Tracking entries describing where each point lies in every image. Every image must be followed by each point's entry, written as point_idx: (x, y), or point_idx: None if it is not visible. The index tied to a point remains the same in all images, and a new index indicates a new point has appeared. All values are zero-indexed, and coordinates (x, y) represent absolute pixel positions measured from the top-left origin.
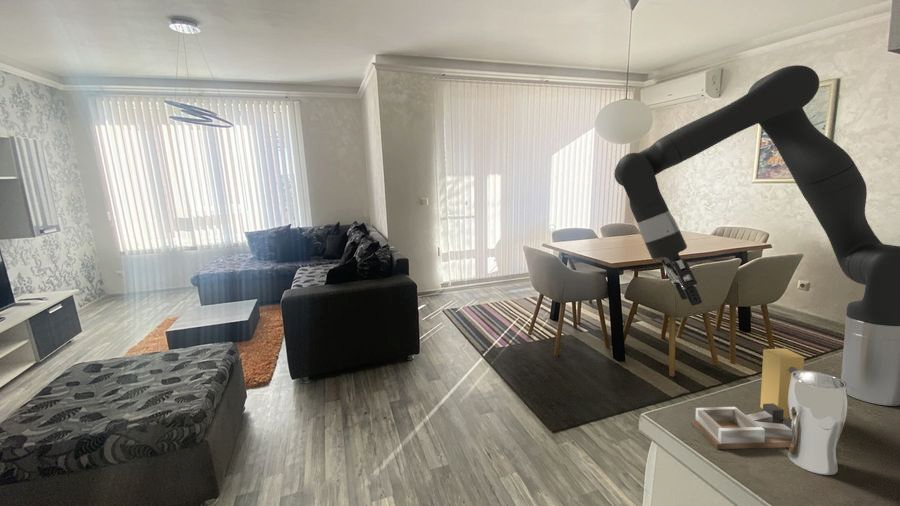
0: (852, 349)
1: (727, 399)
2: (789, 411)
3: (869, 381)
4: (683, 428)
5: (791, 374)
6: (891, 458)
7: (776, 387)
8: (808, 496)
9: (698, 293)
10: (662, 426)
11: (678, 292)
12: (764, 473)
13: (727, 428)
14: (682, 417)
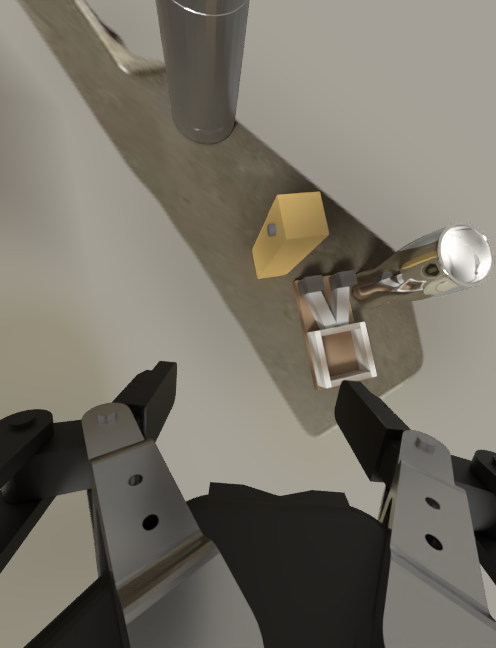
0: (210, 61)
1: (239, 312)
2: (409, 299)
3: (230, 106)
4: (326, 403)
5: (458, 283)
6: (345, 210)
7: (298, 259)
8: (415, 324)
9: (379, 402)
10: (326, 430)
11: (161, 427)
12: (392, 346)
13: (370, 365)
14: (300, 396)
